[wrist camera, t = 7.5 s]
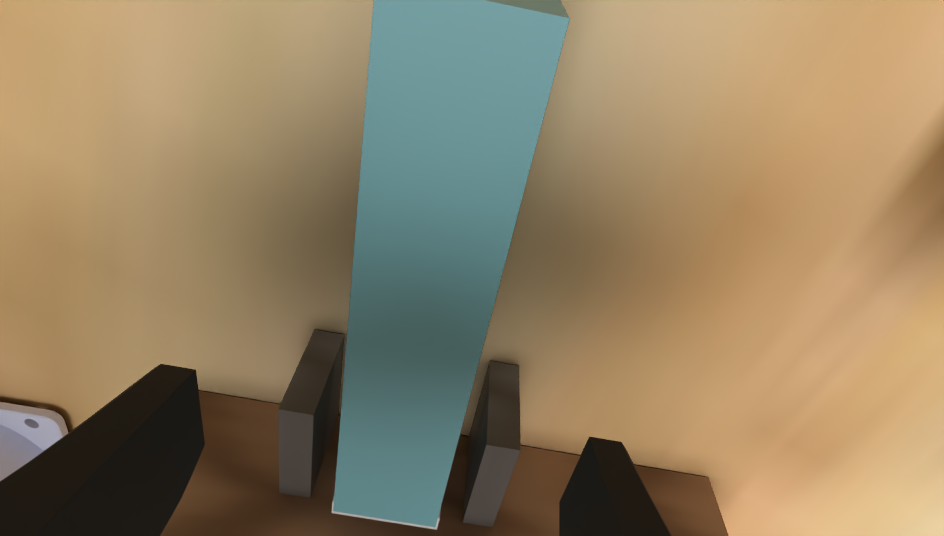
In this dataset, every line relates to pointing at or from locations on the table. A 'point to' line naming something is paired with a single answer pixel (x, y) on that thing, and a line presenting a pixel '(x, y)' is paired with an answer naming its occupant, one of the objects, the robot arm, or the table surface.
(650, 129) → the table surface
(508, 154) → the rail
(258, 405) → the brown wooden bar
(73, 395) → the table surface
